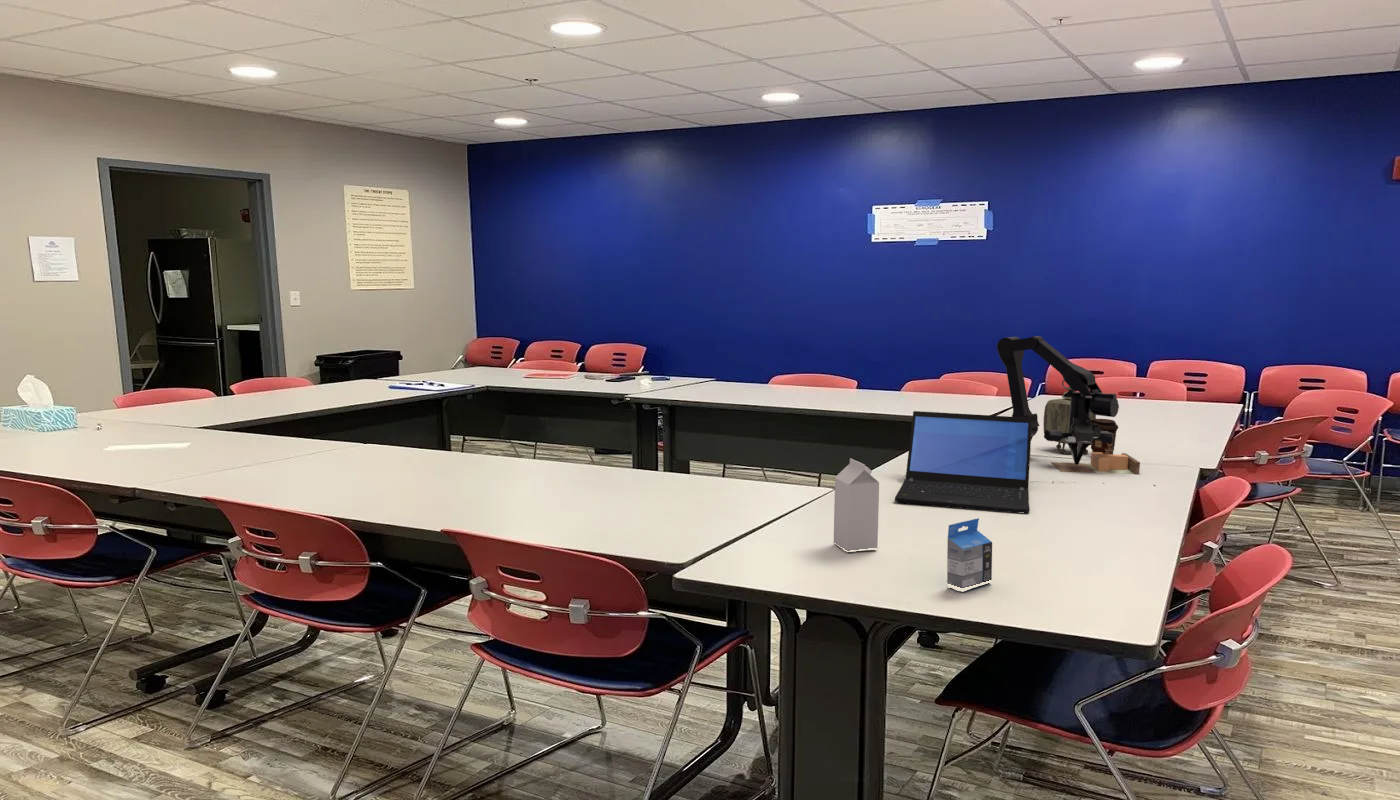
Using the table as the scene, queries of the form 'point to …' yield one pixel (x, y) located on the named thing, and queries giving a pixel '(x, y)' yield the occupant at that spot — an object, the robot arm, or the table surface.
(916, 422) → the laptop
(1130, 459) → the board
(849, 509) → the milk carton
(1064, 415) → the tabletop clock
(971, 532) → the label tape box
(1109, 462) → the tee block
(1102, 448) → the coffee cup
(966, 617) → the table surface
